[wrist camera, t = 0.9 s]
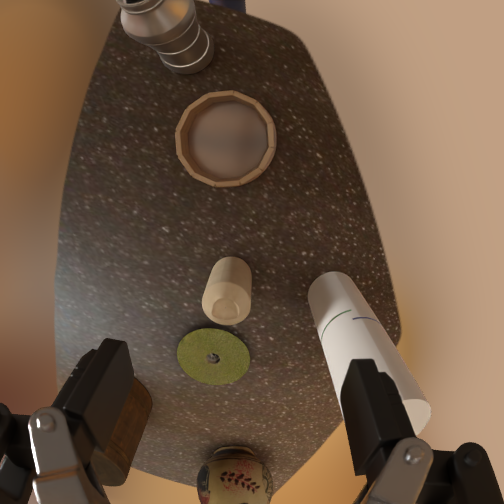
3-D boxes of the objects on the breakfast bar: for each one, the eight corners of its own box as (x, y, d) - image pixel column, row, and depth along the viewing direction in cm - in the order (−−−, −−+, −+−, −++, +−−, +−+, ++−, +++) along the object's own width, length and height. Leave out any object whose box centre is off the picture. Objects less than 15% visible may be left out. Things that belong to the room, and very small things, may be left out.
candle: (217, 296, 44) (208, 335, 34) (206, 260, 42) (193, 293, 33) (255, 288, 43) (255, 327, 34) (246, 251, 42) (243, 283, 32)
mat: (165, 345, 47) (162, 352, 45) (216, 308, 44) (214, 315, 43) (213, 387, 50) (212, 394, 48) (264, 356, 47) (265, 363, 45)
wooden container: (106, 351, 48) (51, 444, 27) (167, 402, 51) (139, 500, 31) (72, 382, 51) (24, 459, 30) (126, 425, 55) (95, 506, 34)
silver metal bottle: (205, 83, 34) (158, 28, 16) (158, 70, 34) (81, 19, 15) (224, 41, 32) (198, -41, 14) (177, 29, 32) (120, -46, 13)
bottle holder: (177, 99, 35) (167, 93, 30) (273, 90, 35) (275, 82, 30) (185, 190, 39) (175, 196, 34) (279, 183, 39) (282, 188, 34)
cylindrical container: (352, 314, 45) (415, 444, 21) (306, 316, 45) (342, 459, 21) (357, 270, 42) (442, 391, 19) (308, 272, 42) (360, 407, 19)
